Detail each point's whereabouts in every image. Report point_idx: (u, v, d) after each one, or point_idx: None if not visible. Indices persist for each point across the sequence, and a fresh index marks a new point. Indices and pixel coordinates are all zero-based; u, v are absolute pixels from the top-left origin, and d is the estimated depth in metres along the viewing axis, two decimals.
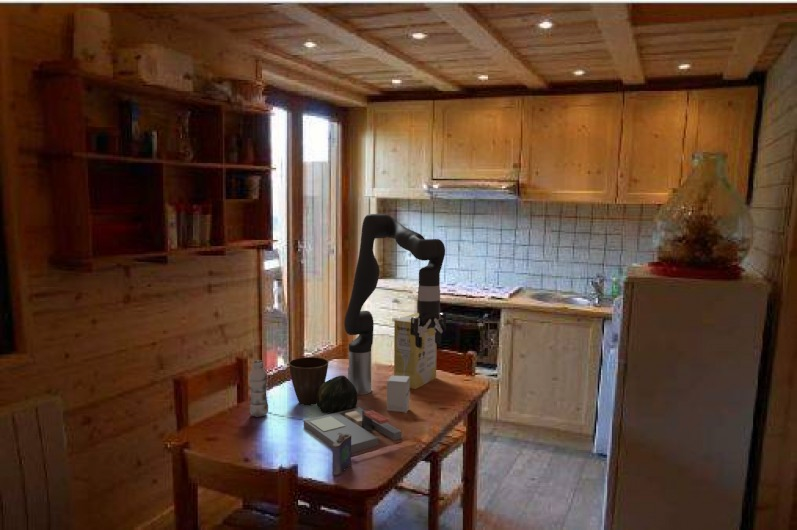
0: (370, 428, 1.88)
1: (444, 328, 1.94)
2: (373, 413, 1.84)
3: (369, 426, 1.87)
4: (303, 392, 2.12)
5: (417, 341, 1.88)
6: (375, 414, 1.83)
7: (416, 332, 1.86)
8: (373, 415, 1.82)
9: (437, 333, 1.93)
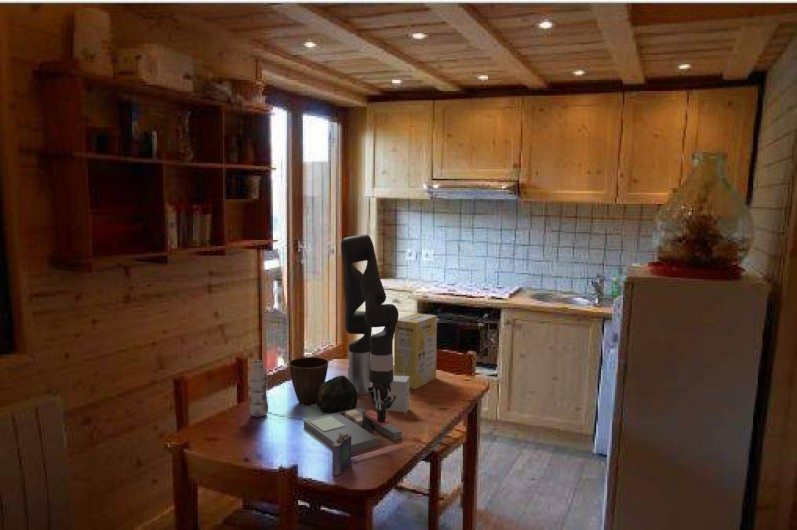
0: (370, 428, 1.88)
1: None
2: (374, 414, 1.84)
3: (369, 426, 1.87)
4: (303, 392, 2.12)
5: (384, 414, 1.79)
6: (375, 415, 1.83)
7: None
8: (374, 416, 1.82)
9: None
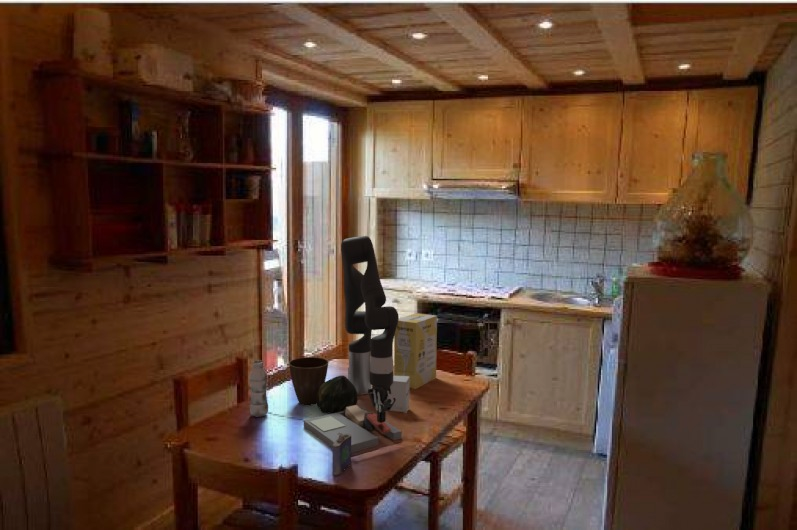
0: (370, 429, 1.88)
1: None
2: (375, 418, 1.83)
3: (369, 427, 1.87)
4: (303, 392, 2.12)
5: (384, 416, 1.79)
6: None
7: None
8: (375, 421, 1.81)
9: None
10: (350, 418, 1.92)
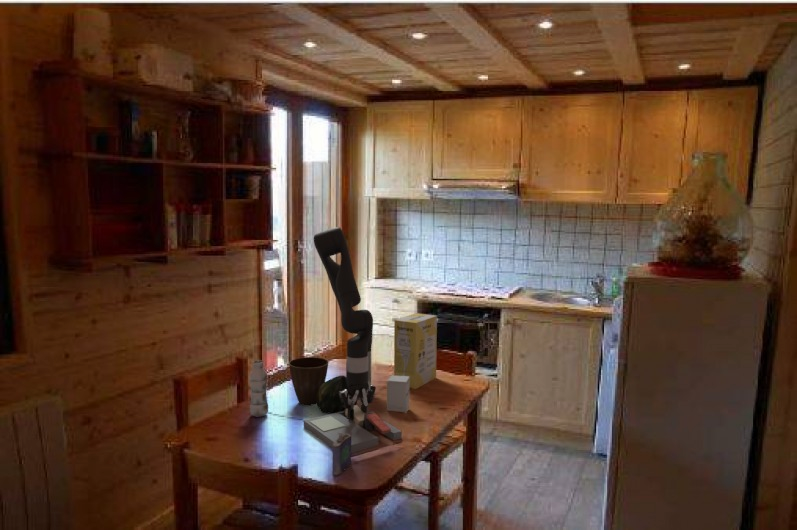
0: (370, 429, 1.88)
1: None
2: (375, 418, 1.83)
3: (369, 427, 1.87)
4: (303, 392, 2.12)
5: None
6: (377, 420, 1.82)
7: None
8: (375, 421, 1.81)
9: None
10: None
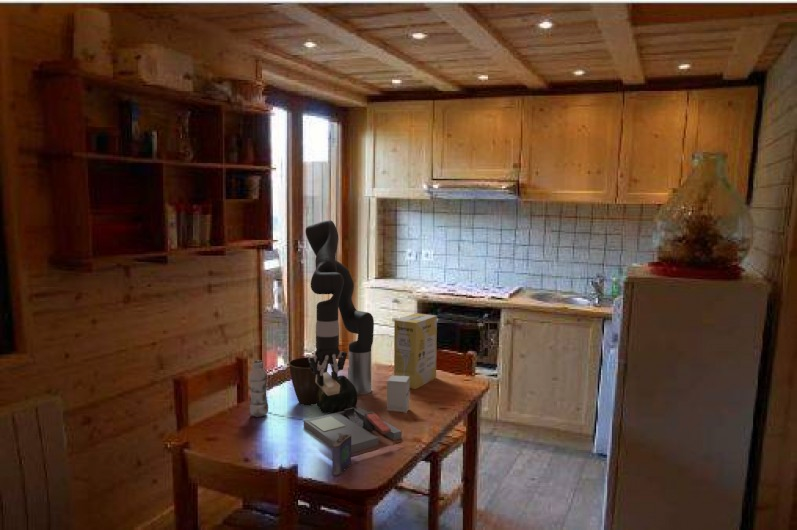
0: (370, 429, 1.88)
1: None
2: (375, 418, 1.83)
3: (369, 427, 1.87)
4: (303, 392, 2.12)
5: None
6: (377, 420, 1.82)
7: None
8: (375, 421, 1.81)
9: None
10: None
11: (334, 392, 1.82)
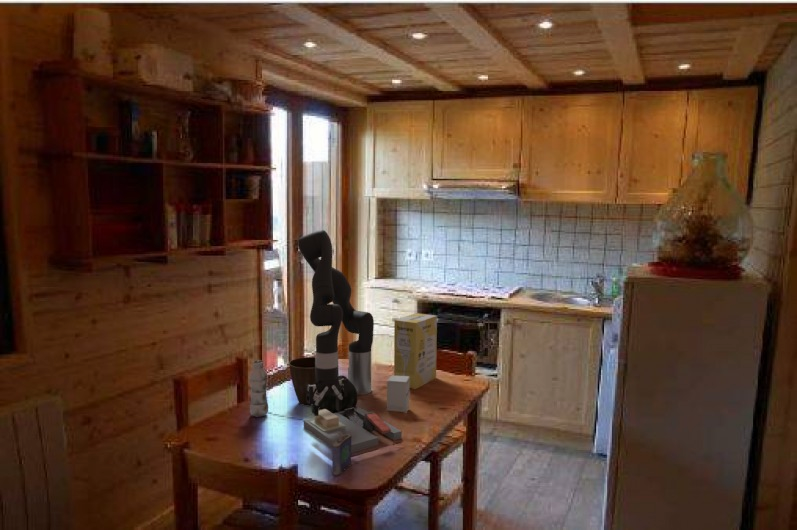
0: (370, 429, 1.88)
1: None
2: (375, 418, 1.83)
3: (369, 427, 1.87)
4: (303, 392, 2.12)
5: None
6: (377, 420, 1.82)
7: None
8: (375, 421, 1.81)
9: None
10: (319, 421, 1.87)
11: (333, 425, 1.84)
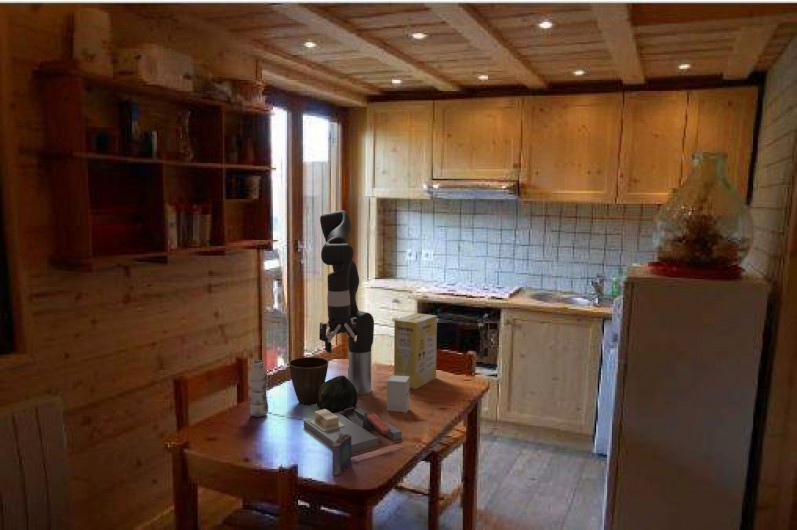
0: (370, 429, 1.88)
1: None
2: (375, 418, 1.83)
3: (369, 427, 1.87)
4: (303, 392, 2.12)
5: None
6: (377, 420, 1.82)
7: None
8: (375, 421, 1.81)
9: None
10: (319, 421, 1.87)
11: (333, 425, 1.84)
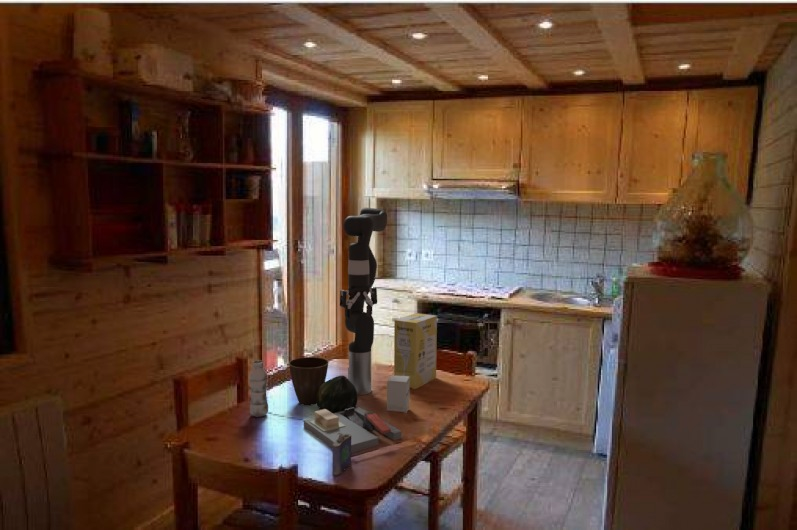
0: (370, 429, 1.88)
1: None
2: (375, 418, 1.83)
3: (369, 427, 1.87)
4: (303, 392, 2.12)
5: None
6: (377, 420, 1.82)
7: None
8: (375, 421, 1.81)
9: None
10: (319, 421, 1.87)
11: (333, 425, 1.84)
